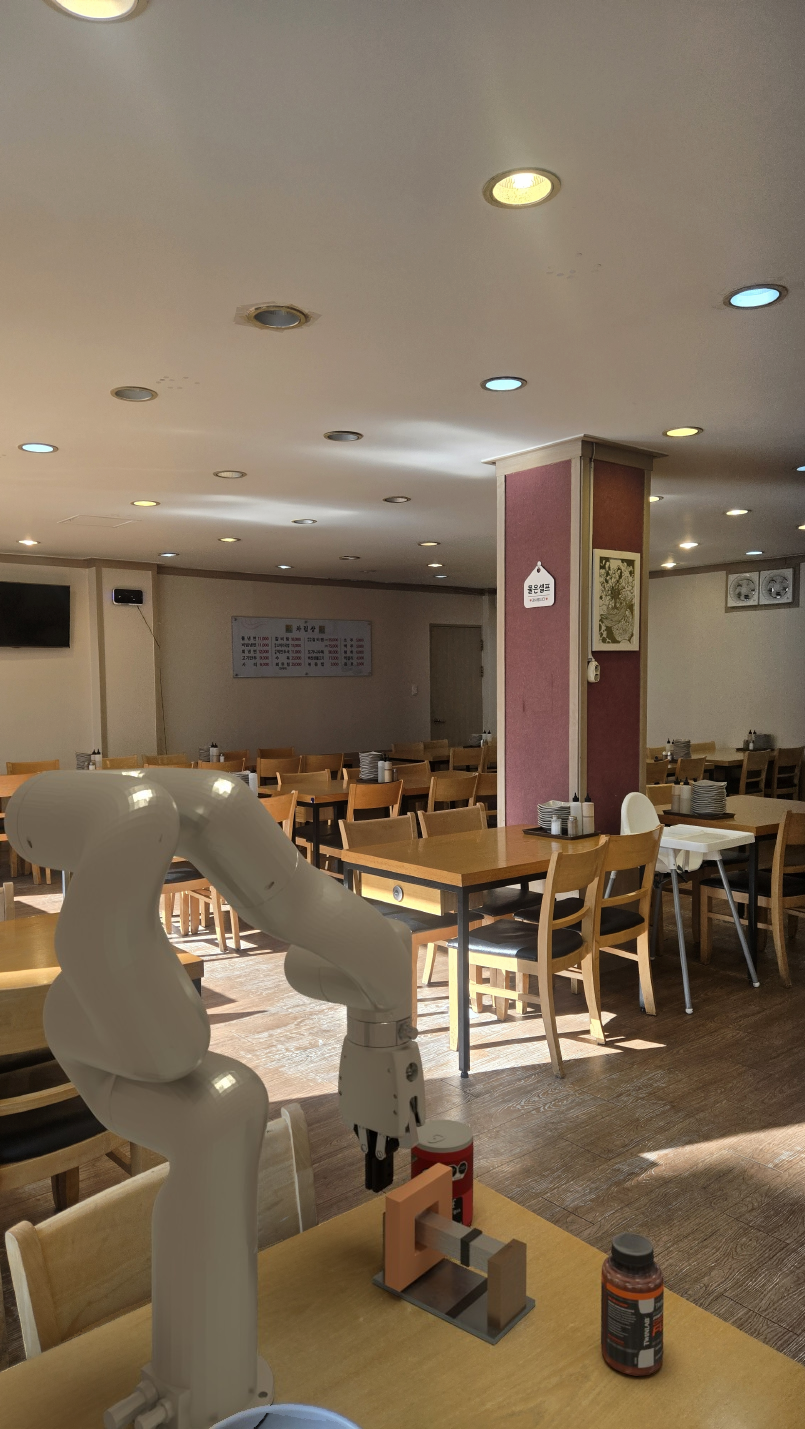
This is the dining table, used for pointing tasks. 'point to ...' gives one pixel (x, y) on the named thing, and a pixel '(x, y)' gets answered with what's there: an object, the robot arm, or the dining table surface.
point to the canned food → (448, 1161)
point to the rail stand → (468, 1278)
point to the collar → (400, 1211)
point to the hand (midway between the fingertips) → (379, 1186)
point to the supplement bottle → (632, 1306)
